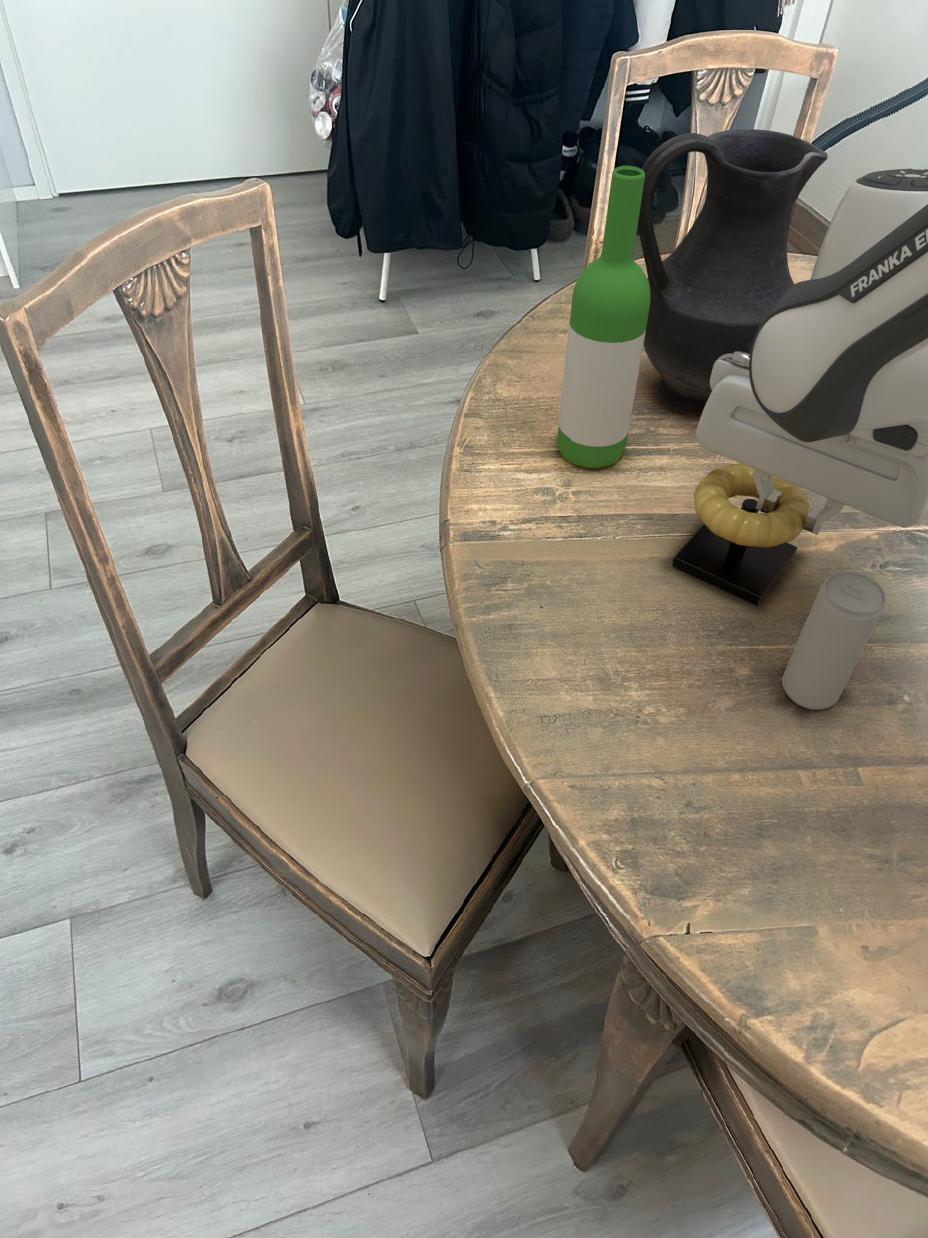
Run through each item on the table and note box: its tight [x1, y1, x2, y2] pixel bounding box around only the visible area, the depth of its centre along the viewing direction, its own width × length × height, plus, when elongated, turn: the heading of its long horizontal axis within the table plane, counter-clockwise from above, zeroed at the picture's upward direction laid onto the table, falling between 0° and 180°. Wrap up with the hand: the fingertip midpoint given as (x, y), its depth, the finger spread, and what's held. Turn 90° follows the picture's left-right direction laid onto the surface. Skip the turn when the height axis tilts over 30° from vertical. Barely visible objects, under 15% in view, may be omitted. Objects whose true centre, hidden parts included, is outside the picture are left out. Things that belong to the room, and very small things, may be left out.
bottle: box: [556, 165, 650, 469], centre depth 89 cm, size 8×8×30 cm
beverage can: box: [781, 570, 887, 711], centre depth 71 cm, size 5×5×12 cm
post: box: [671, 498, 798, 606], centre depth 84 cm, size 9×9×7 cm
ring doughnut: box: [693, 463, 811, 547], centre depth 82 cm, size 10×10×3 cm
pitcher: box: [637, 128, 828, 416], centre depth 97 cm, size 17×21×30 cm
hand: (789, 519), depth 80 cm, fingers closed on ring doughnut, 3 cm apart
